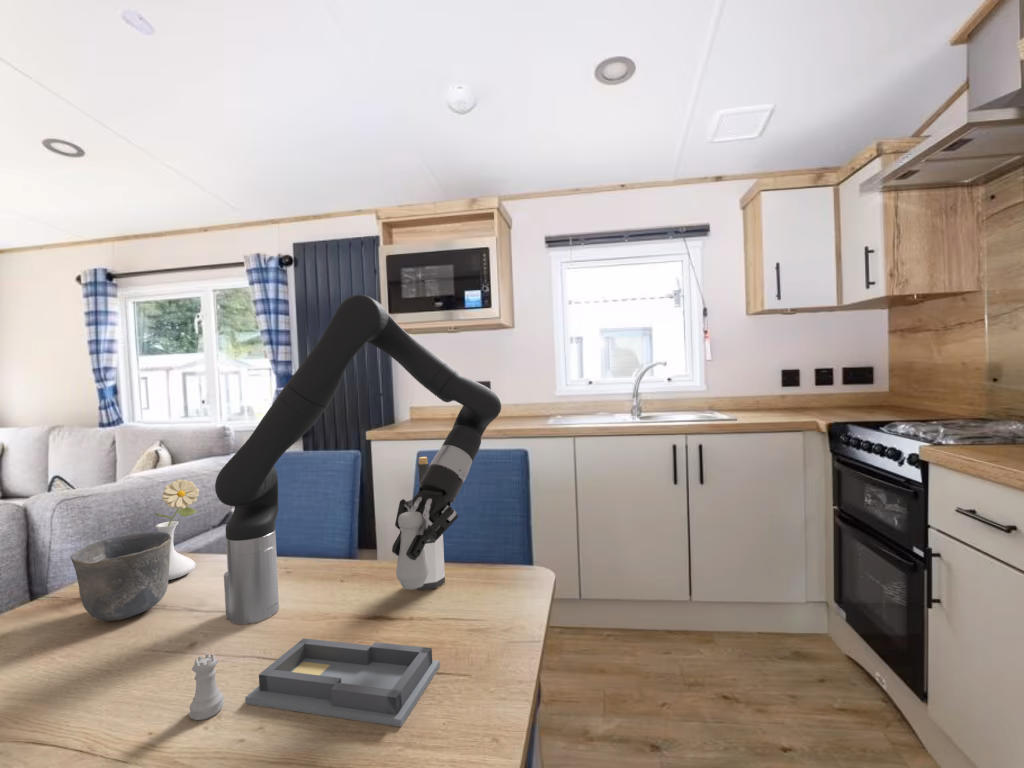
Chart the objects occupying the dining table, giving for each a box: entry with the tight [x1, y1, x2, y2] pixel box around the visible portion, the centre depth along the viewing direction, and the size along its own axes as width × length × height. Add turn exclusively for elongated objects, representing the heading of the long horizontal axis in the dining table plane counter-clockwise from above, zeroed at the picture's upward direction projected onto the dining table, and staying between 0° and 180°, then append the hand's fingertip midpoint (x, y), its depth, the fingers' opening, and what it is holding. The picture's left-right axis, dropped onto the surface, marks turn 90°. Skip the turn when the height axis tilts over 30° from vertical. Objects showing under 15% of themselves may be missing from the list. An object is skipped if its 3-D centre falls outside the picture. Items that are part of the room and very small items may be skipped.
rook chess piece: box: [188, 653, 225, 722], centre depth 71 cm, size 4×4×8 cm
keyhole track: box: [244, 637, 441, 728], centre depth 76 cm, size 26×14×4 cm, turn 76°
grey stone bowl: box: [70, 531, 172, 622], centre depth 105 cm, size 18×18×15 cm
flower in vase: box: [154, 479, 200, 581], centre depth 124 cm, size 13×11×25 cm
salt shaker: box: [395, 511, 429, 590], centre depth 86 cm, size 6×6×13 cm
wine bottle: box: [416, 456, 446, 591], centre depth 113 cm, size 8×8×30 cm
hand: (403, 555), depth 84 cm, fingers closed on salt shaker, 3 cm apart
